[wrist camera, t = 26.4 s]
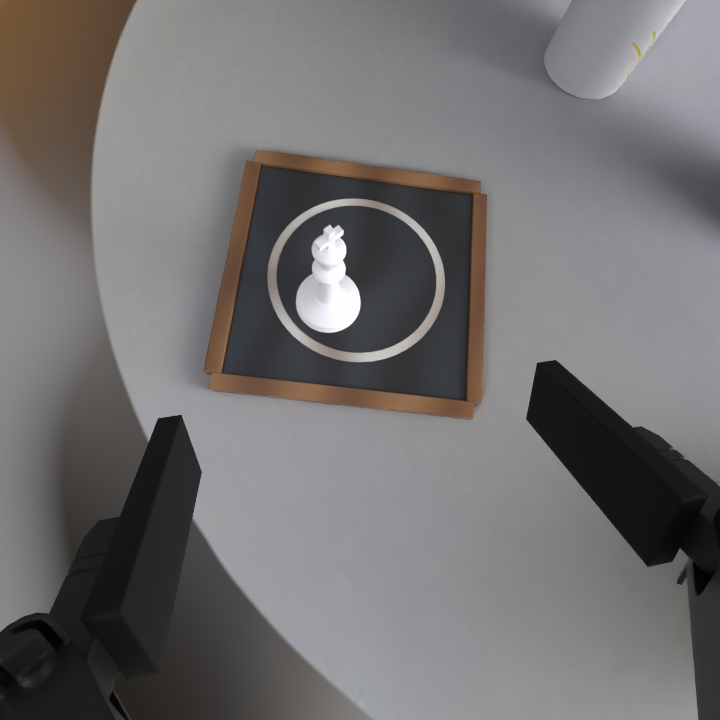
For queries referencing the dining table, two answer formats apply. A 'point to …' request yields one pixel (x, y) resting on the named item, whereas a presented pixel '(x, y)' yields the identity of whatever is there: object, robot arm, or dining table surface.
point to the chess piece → (328, 287)
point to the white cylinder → (604, 43)
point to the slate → (374, 282)
